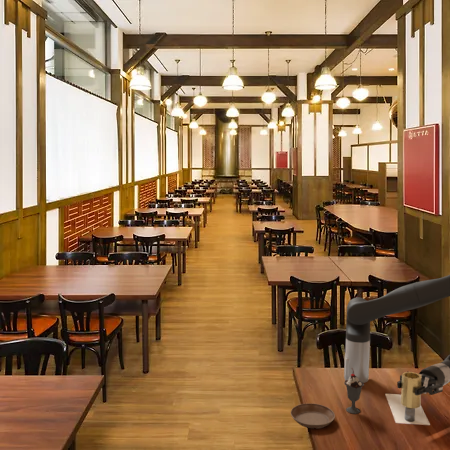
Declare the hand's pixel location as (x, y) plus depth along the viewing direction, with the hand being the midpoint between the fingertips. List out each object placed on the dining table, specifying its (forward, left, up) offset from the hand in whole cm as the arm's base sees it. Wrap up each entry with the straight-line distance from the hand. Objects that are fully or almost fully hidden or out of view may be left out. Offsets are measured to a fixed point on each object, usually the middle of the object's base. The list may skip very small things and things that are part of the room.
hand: (407, 388), depth 177 cm
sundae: (-16, +8, -13) cm, 22 cm away
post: (+2, +2, -12) cm, 13 cm away
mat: (+2, +10, -12) cm, 16 cm away
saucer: (-31, -1, -13) cm, 33 cm away
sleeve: (+2, +2, -6) cm, 6 cm away
